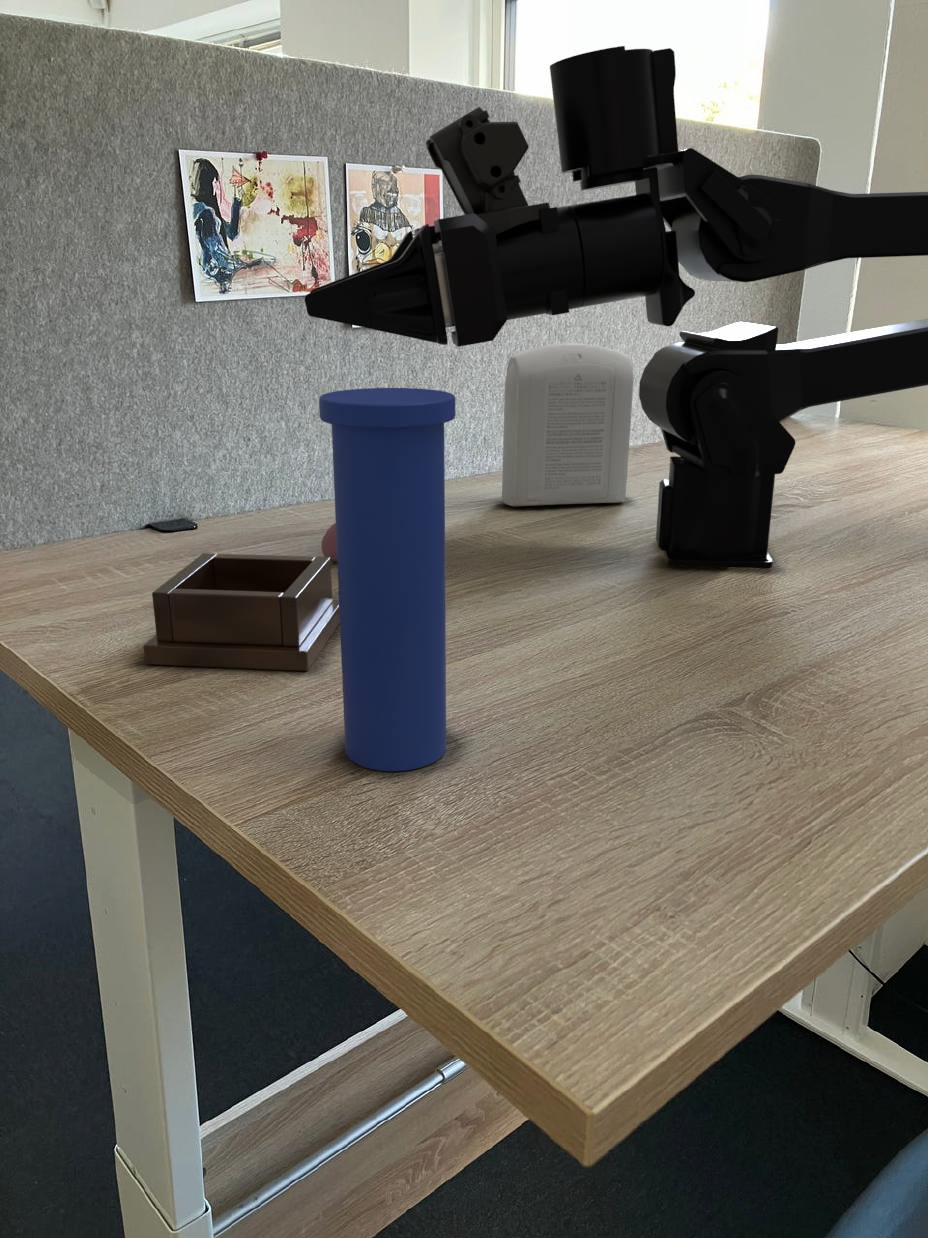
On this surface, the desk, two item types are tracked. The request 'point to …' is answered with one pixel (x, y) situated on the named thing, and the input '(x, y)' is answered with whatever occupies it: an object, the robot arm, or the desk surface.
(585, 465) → the photo printer
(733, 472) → the robot arm
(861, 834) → the desk surface
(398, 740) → the blue capped tube
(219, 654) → the holder
